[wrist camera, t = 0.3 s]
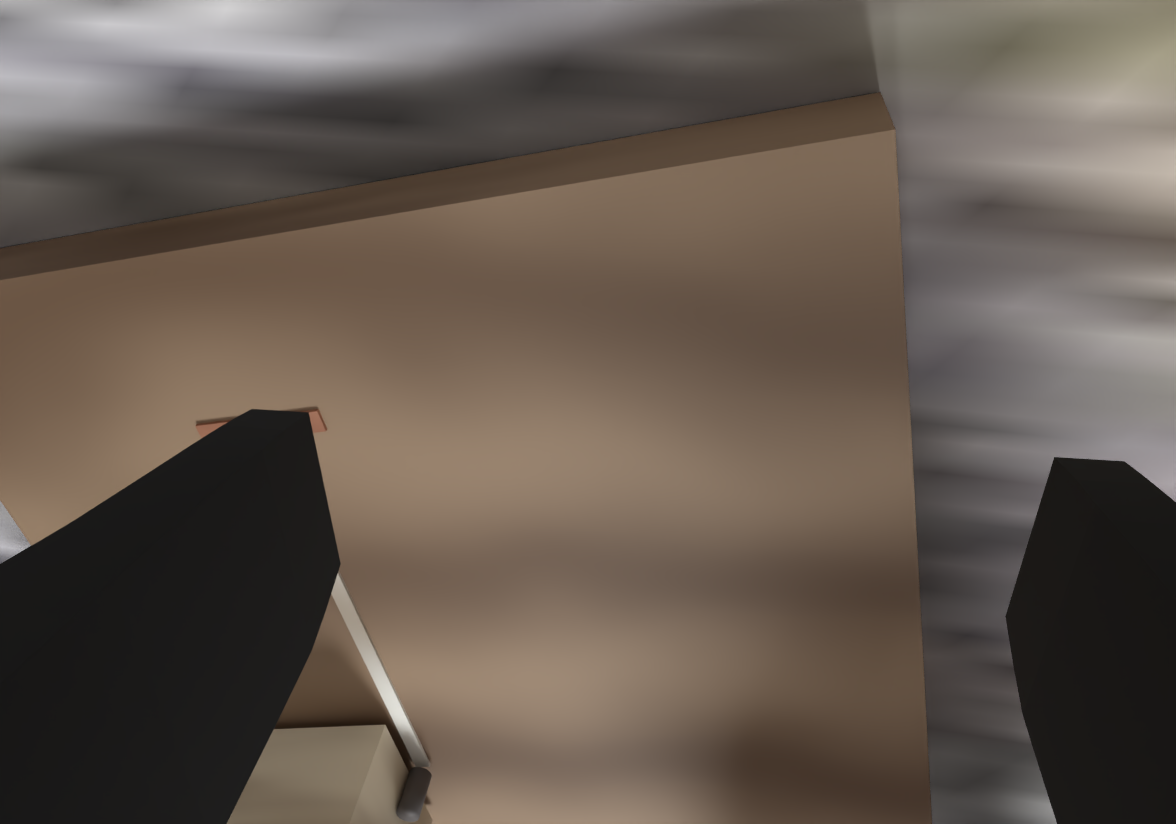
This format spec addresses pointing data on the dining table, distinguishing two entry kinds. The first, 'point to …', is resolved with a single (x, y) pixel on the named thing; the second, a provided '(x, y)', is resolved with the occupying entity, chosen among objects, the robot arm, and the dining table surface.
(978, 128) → the dining table surface
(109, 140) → the dining table surface
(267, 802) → the cream block
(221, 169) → the dining table surface
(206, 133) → the dining table surface
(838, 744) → the board
